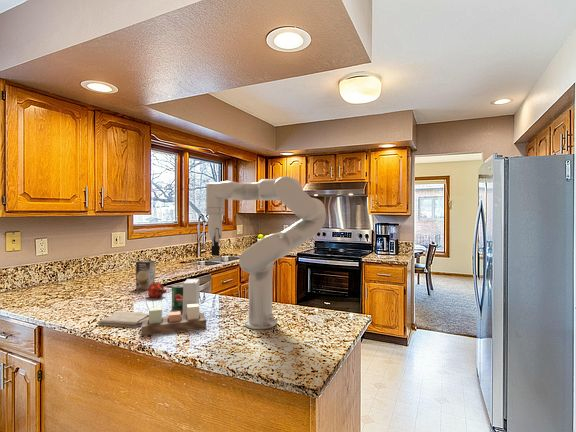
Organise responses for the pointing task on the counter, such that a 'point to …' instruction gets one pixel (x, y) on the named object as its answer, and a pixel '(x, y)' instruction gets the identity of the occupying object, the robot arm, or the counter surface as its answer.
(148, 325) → the brown slotted tray
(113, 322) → the washcloth
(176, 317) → the terracotta key
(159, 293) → the dragon fruit
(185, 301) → the skincare box
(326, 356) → the counter surface
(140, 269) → the coffee box
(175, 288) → the canned tomato
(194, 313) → the cream key
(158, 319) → the sage key
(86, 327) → the counter surface
